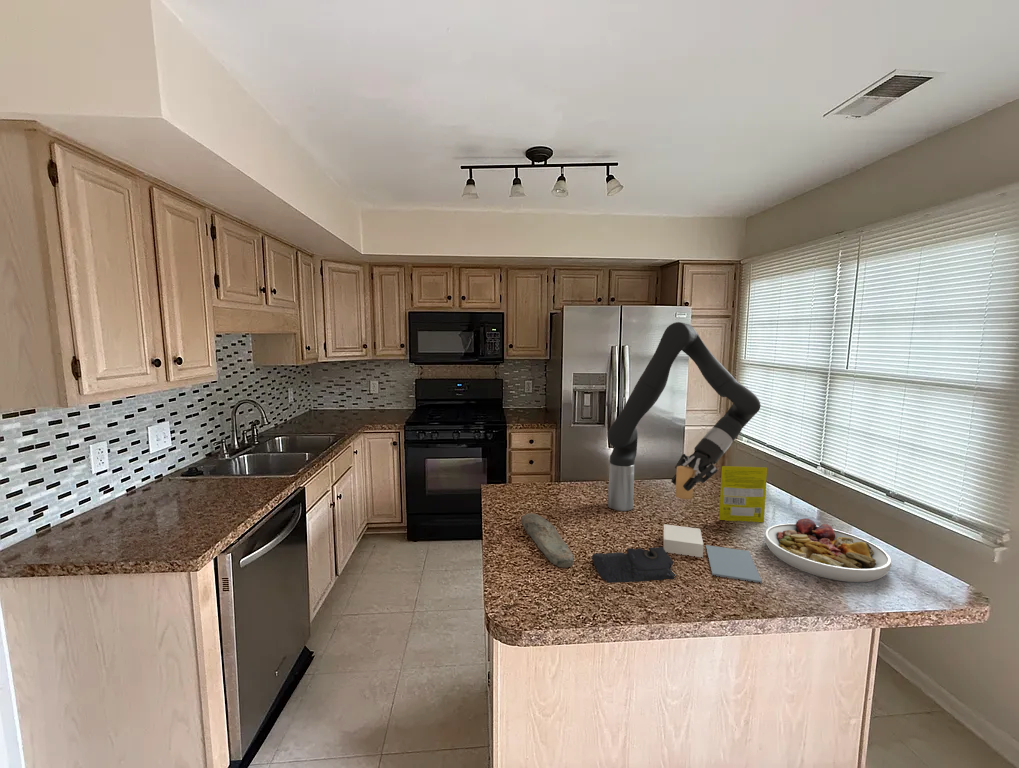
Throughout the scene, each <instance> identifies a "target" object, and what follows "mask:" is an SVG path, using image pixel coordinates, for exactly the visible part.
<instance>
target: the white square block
mask: <svg viewBox="0 0 1019 768" xmlns="http://www.w3.org/2000/svg"><path fill="white" fill-rule="evenodd" d="M662 535H663V536H662V537H663V538H662V539H663V540H662V541H663V548H664V550H665V552H666V553H667V552H668V554H674V553H676V555H681V554H682V556H687V555H689V557H694V556H695V558H701V557H702V558H704V541H703V537H702V531H701V528H697V527H689V526H679V525H675V524H674V525H673V524H665V523H664V524H663V533H662Z"/></svg>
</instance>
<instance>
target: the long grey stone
mask: <svg viewBox="0 0 1019 768" xmlns="http://www.w3.org/2000/svg"><path fill="white" fill-rule="evenodd" d="M521 523H522V526H523V528H524V530H525V531H526V534H527V535H528V536H529V537H531V540H533V542H535V544H536V545H537V548H538V549H539V550H540V551H541V552H542V554H544V556H545V558H546V559H547V560H548V561H549V562H550V563H551V564H553V565H554V566H556V567H558V568H564V569H565V568H570V567H571V566H573V565H574V555H573V551H572V550H571V549H570V548H569V547H568V544H567V543H566V542H565V540H564V539H563V538H562V536H561V534H560V533H558V530H557V528H556V526H555V525H553V524H552V523H551V522H550V521H548V519H546V518H545V517H542V516H541V515H539V514H537V513H531V512H530V513H526V514H524V515H522V517H521Z"/></svg>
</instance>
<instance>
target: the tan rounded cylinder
mask: <svg viewBox="0 0 1019 768" xmlns="http://www.w3.org/2000/svg"><path fill="white" fill-rule="evenodd" d="M693 469H694V468H692V467H689V466H678V467H677V469H676V473H675V474H676V485H675V494H674V496H675V497H676V498H678V499H681V500H692V499H693V498H694V497H693V496H694V486H693V487H692V489H690V490H689V491H687V490H685V489H684V487H683V485H684V484H685V483H686V482H687V481H688V479H689V478H690V477H691V478H692V474H693V472H694V470H693Z"/></svg>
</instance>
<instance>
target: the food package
mask: <svg viewBox="0 0 1019 768" xmlns="http://www.w3.org/2000/svg"><path fill="white" fill-rule="evenodd" d="M720 473H721V474H720V476H721V477H720V493H719V495H720V497H719V515H718V521H720V520H725V521H724V522H726V521H727V522H744V521H745V522H748V523H764V522H765V514H766V513H765V511H766V510H765V509H766V495H767V493H766V492H767V477H768V467H767V466H766V467H762V466H735V465H734V466H732V465H729V466H728V465H722V466H721V472H720Z"/></svg>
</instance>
